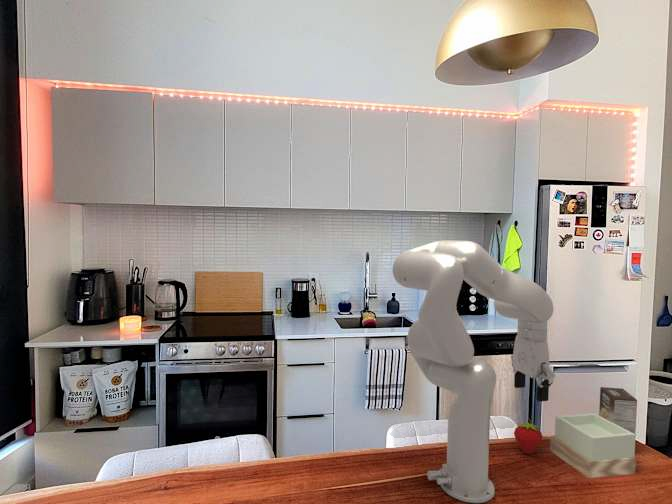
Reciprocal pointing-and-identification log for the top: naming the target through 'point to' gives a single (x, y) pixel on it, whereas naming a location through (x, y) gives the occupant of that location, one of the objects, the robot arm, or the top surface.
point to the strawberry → (528, 437)
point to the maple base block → (589, 467)
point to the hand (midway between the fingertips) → (530, 393)
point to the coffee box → (618, 407)
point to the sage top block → (595, 437)
